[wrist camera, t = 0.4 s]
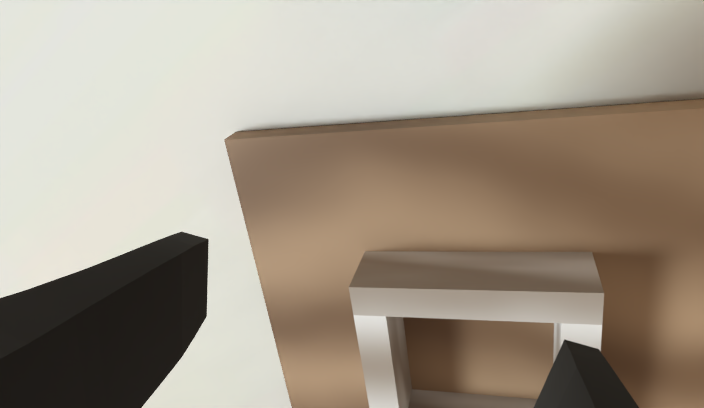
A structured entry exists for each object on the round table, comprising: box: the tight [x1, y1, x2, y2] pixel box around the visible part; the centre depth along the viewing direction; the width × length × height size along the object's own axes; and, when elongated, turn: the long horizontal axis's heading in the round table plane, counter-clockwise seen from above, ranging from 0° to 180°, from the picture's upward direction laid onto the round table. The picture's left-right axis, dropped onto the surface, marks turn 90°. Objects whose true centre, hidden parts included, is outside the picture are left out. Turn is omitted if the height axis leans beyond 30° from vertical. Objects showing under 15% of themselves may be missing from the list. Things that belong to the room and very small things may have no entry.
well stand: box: [225, 99, 704, 408], centre depth 20 cm, size 18×18×4 cm
